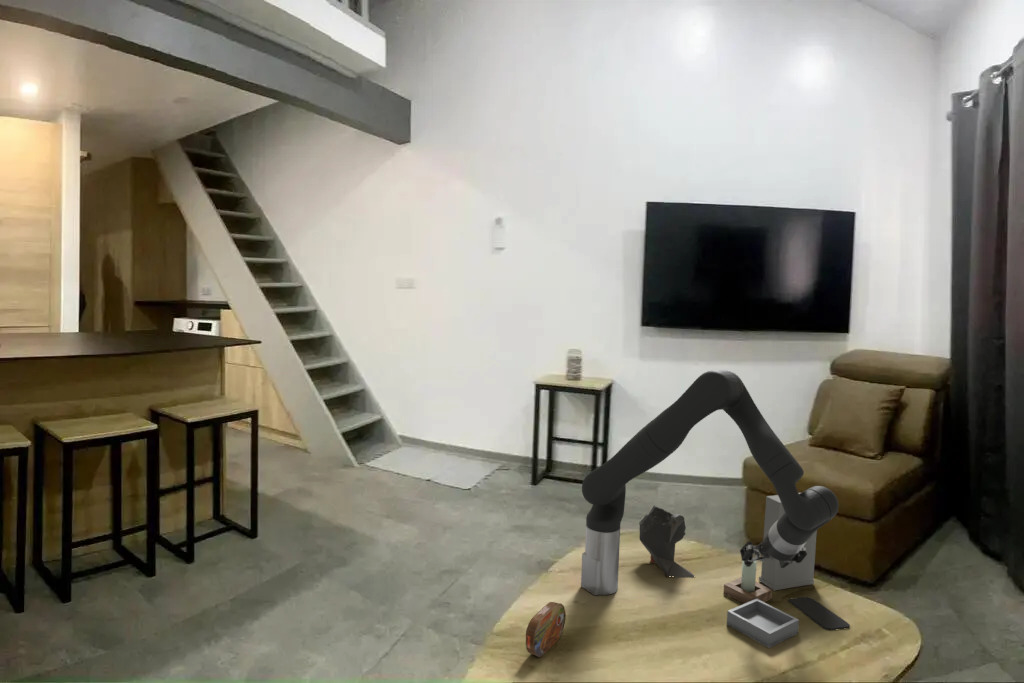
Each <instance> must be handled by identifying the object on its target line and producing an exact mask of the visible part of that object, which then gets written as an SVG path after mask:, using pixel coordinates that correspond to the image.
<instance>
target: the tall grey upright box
mask: <svg viewBox="0 0 1024 683" xmlns="http://www.w3.org/2000/svg"><path fill="white" fill-rule="evenodd" d="M798 493H799V494H800V493H801V492H798ZM784 513H785V511H784V508H783V506H782V503H781V501H780V498H779V496H778V494H775V495H767V496H766V497H765V511H764V522H763V524H764V526H763V527H764V528H763V537H764V536H765V534H766V533H767V532H768V531H769V529H770V528H771V527H772V526H773V524H774V523H775V522H776V521H777V520H779V519H780V517H781V516H782V515H783V514H784ZM817 531H818V530H816V531H815V532H814V533H813V535H812V536H811V537H810V538H809V539H808V541H807V542H806V543H805V548H806V552H807V555H806V557H805V558H804V559H803V560H802V561H801V562H800V563H796V561H793V563H791V564H790V563H789V564H788V565H787V566H786V567H785V568H781V567H780V563H779V560H777V559H775V558H774V559H767V560H764V561H761V571H760V573H761V574H760V576H759V577H758V581H759V582H760V584H762V585H765V587H767V588H770V589H772V592H773V591H775V592H776V591H778V590H784V589H790V588H796V587H802V586H809V585H810V586H811V585H814V584H815V580H814V574H815V562H816V561H815V560H816V550H817V549H816V546H817V534H818V532H817ZM761 555H762V554H761ZM762 556H763V555H762ZM762 556H761V557H762Z"/></svg>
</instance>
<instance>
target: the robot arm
mask: <svg viewBox="0 0 1024 683" xmlns="http://www.w3.org/2000/svg"><path fill="white" fill-rule="evenodd" d="M720 410H722V411H723V412H724V413H726V414H727V415H728V416H729V417H730V418H731V419H732V421H734V423H735V424H736V425H737V427H738V429H739V430H740V431H741V433H742V436H743V437H744V439H745V442H746V444H747V446H748V449H749V451H750V454H751V455H752V458H753V459H754V460H755V462H756V464H757V465H758V466H759V468H760V469H761V470H762V472H763V473H764V474H765V476H766V477H767V478H768V479H769V481H770V482H771V483H772V485H773V488H774V490H775V491H776V495H778V496H779V498H780V501H781V503H782V506H783V508H784V511H785V513H784V514H783V515H782V516H781V517H780V519H779V520H777V521H776V522H775V523H774V524H773V526H772V527H771V528H770V529H769V531H768V532H767V533H766V534H765V536H764V535H763V539H762V542H760V543H759V544H757V545H754V544H753V542H752V541H747V542H746V543H745V544H744V545H743V546H742V547H741V549H739V552H740V557H741V561H742V562H743V561H744V564H745V565H746V566H747V567H750V566H751V564H752V563H753V561H758V562H762V561H764V560H767V559H774V558H775V559H777V560H779V563H780V567H781V568H785V567H786V566H787V565H788V564H789V563H790V564H791V563H793V561H796V563H800V562H801V561H802V560H803V559H804V558H805V557H806V555H807V552H806V548H805V543H806V542H807V541H808V539H809V538H810V537H811V536H812V535H813V533H814V532H815V531H816V530H817V531H818V530H819V529H821V528H822V527H823V526H825V525H826V524H828V522H831V520H832V519H834V518H835V517H836V516H837V514H838V513H839V512H838V511H839V509H840V508H839V507H840V504H839V500H838V498H837V495H836V494H835V493H834V492H833V491H832V490H831V489H830V488H827V487H825V486H823V485H814V486H812V487H809V488H807V489H806V490H804V491H802V492H798V490H797V483H798V482H799V481H800V480H801V479H802V478H803V477H804V473H805V471H804V469H803V467H802V466H801V465H800V463H799V462H798V461H797V459H796V458H795V457H794V456H793V454H792V453H791V451H789V449H788V448H787V447H786V445H784V443H783V442H782V441H781V439H780V438H779V437H778V436H777V434H776V433H775V432H774V430H773V429H772V428H771V426H770V424H769V423H768V422H767V420H766V419H765V417H764V416H763V415H762V413H761V411H760V410H759V408H758V406H757V405H756V403H755V401H754V399H753V398H752V396H751V394H750V392H749V390H748V388H747V387H746V385H745V384H744V382H743V380H742V379H741V378H740V376H739V375H737V374H736V373H735V372H733V371H729V370H723V369H721V370H720V369H719V370H718V369H713V370H708V371H706V372H705V371H704V372H703V373H702V374H700V375H699V376H698V377H697V378H696V379H695V380H694V381H693V382H692V384H690V386H689V387H688V388H687V389H686V390H685V391H684V392H683V393H682V394H680V397H678V399H677V400H675V401H674V403H672V404H671V405H669V406H668V407H667V408H666V409H663V411H662V412H660V413H659V414H658V415H657V416H656V417H654V418H653V419H652V420H651V421H649V422H648V423H647V424H646V425H645V426H643V427H642V428H641V429H640V430H639V431H638V432H637V433H636V434H635V435H633V437H631V439H629V440H628V441H626V443H625V444H624V445H623V446H622V447H621V448H620V449H619V450H618V451H617V452H616V453H615V454H614V455H613V456H612V457H611V458H610V459H609V460H607V461H606V462H604V463H603V464H602V465H600V466H598V467H597V468H595V469H594V470H592V471H590V472H588V473H587V474H586V476H585V477H584V479H583V480H582V483H581V493H582V496H583V498H584V499H585V501H586V502H588V503H589V504H591V505H592V506H591V508H590V510H589V511H588V513H587V515H586V517H585V519H586V520H585V542H584V543H585V544H584V546H585V547H584V552H582V554H581V572H580V573H581V574H580V575H581V578H580V581H581V582H580V587H581V588H583V589H584V590H586V591H588V592H590V593H591V594H592V595H594V596H599V595H600V596H604V595H605V596H607V595H613V594H614V593H616V592H617V591H618V589H619V568H620V567H619V565H620V544H621V523H622V519H623V518H624V514H625V506H626V505H625V504H626V494H627V493H626V492H627V491H626V490H627V489H626V486H627V484H628V483H629V482H631V481H632V480H634V479H635V478H637V477H639V476H640V475H642V474H644V473H646V472H648V471H649V470H651V469H652V468H654V467H656V466H657V465H659V464H660V463H661V462H663V461H665V460H666V459H667V458H668V457H670V455H672V454H673V453H674V452H676V450H677V449H678V448H680V446H681V445H682V444H683V442H684V441H685V440H686V438H687V436H688V434H689V432H690V431H691V430H692V429H693V428H694V426H696V425H697V424H698V423H700V422H701V421H702V420H704V419H706V418H707V417H708V416H710V415H711V414H713V413H715V412H716V411H720ZM799 493H800V494H799ZM761 555H763V556H761Z"/></svg>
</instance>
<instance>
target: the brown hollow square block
mask: <svg viewBox="0 0 1024 683" xmlns="http://www.w3.org/2000/svg"><path fill="white" fill-rule="evenodd" d="M741 578H742V576H741V577H740V578H737V579H734V580H731V581H729V582H727V583H726V582H725V583H723V594H724V593H725V594H724V595H726V596H728V595H729V596H728V597H730V598H732V599H734V600H737V601H738V602H739V603H741V604H745V603H747V602H750V601H752V600H754V599H758V600H760V601H762V602H764V603H766V602H767V601H770V600H772V598H773V590H772V589H771V588H769V587H768V586H766V585H765V586H764V584H762V583H759V582H757V581H755V591H754V592H751V593H749V592H747V591H745V590H743V589H741Z"/></svg>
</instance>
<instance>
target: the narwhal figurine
mask: <svg viewBox="0 0 1024 683" xmlns="http://www.w3.org/2000/svg"><path fill="white" fill-rule="evenodd" d="M685 522H686V521H685V517H684V515H681V514H677V513H672V512H670V511H668V510H666V509H663V508H661V507H658V505H653V506H652V508H651V509H650V511H649V513H648V512H647V513H646V514H645V515H644V516H643V518H641V520H640V521H639V522H638V523H639V524H638V525H639V541H640V543H641V544H642V545H643V546H644V548H645V549H646V550H647V551H648V554H650V563H653V564H656V565H657V566H659V568H660V570H661V571H663V573H664V574H665V576H666V575H667V576H666V577H667V578H695V577H694V576H695V575H694V573H693V572H692V573H693V574H692V573H691V571H690V570H688V569H687V568H685V567H684V566H681V564H679V563H677V562H675V554H676V553H675V551H676V544H677V543H678V542H680V541H682V540H683V538H684V536H685V535H686V530H687V529H686V528H687V527H686V526H687V525H686V523H685ZM669 576H671V577H669ZM672 576H674V577H672Z"/></svg>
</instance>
